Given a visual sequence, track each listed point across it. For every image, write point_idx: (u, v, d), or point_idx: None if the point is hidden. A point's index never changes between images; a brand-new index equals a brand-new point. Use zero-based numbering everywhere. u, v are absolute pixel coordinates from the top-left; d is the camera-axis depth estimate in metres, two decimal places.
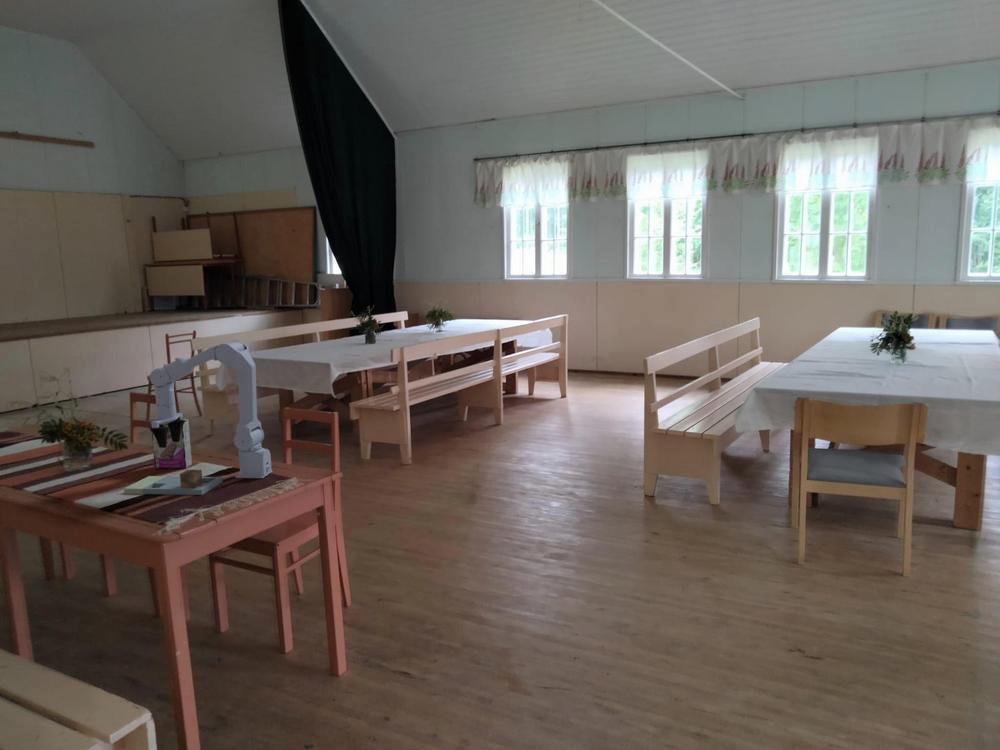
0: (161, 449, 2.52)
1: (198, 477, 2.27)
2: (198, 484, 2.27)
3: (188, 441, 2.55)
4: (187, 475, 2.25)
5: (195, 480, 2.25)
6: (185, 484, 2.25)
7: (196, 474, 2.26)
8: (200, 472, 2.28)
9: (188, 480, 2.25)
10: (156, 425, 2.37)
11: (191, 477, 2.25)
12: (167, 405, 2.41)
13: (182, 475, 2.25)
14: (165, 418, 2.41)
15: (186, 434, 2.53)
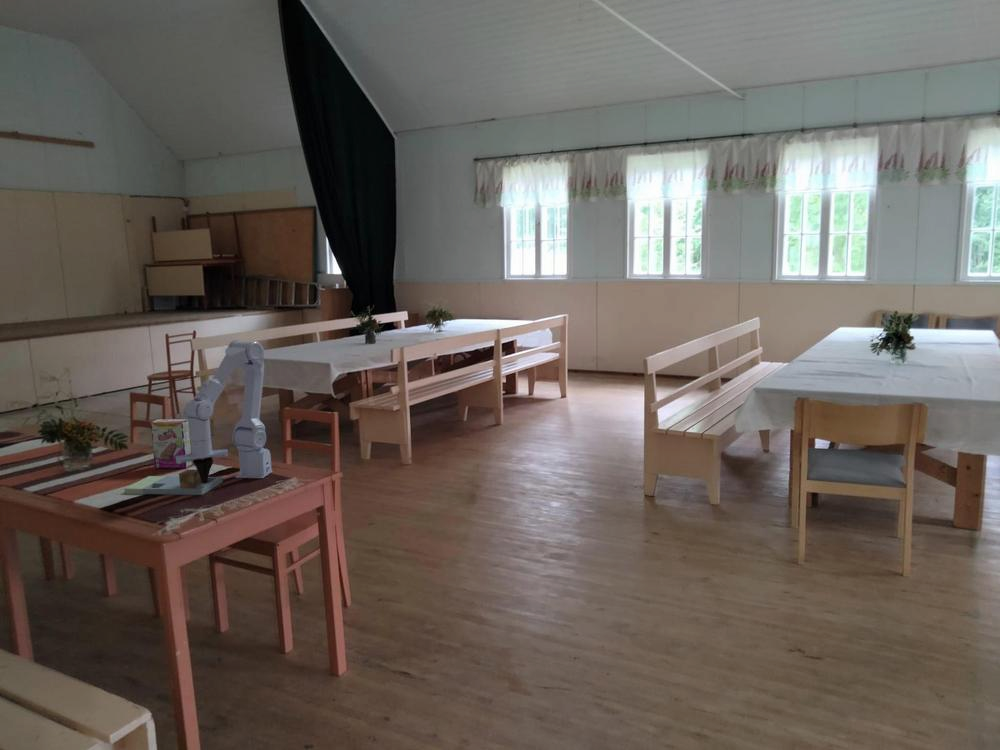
0: (161, 449, 2.52)
1: (197, 477, 2.27)
2: (197, 484, 2.27)
3: (188, 441, 2.55)
4: (186, 475, 2.25)
5: (194, 480, 2.25)
6: (184, 484, 2.25)
7: (195, 474, 2.26)
8: None
9: (187, 480, 2.25)
10: (177, 461, 2.21)
11: (190, 477, 2.25)
12: (194, 441, 2.22)
13: (181, 475, 2.25)
14: (193, 454, 2.23)
15: (186, 434, 2.53)
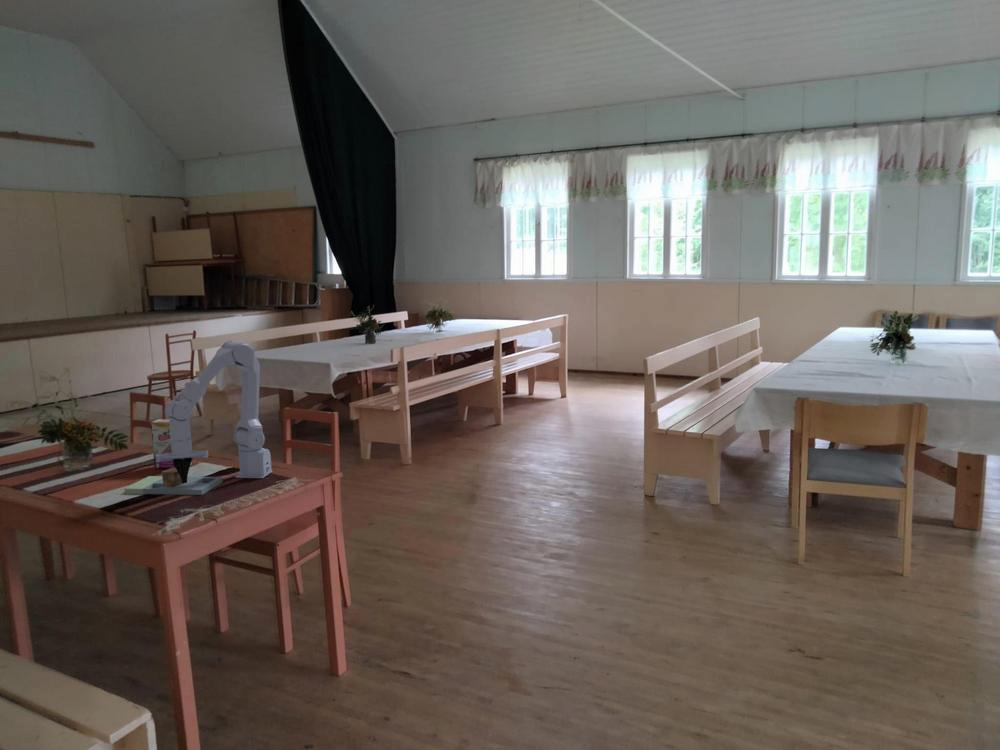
0: (161, 449, 2.52)
1: (179, 476, 2.28)
2: (179, 483, 2.29)
3: None
4: (168, 473, 2.27)
5: (175, 479, 2.27)
6: (166, 482, 2.28)
7: (176, 473, 2.27)
8: None
9: (168, 478, 2.27)
10: (156, 459, 2.24)
11: (171, 476, 2.26)
12: (172, 441, 2.23)
13: (164, 473, 2.27)
14: (172, 454, 2.24)
15: None
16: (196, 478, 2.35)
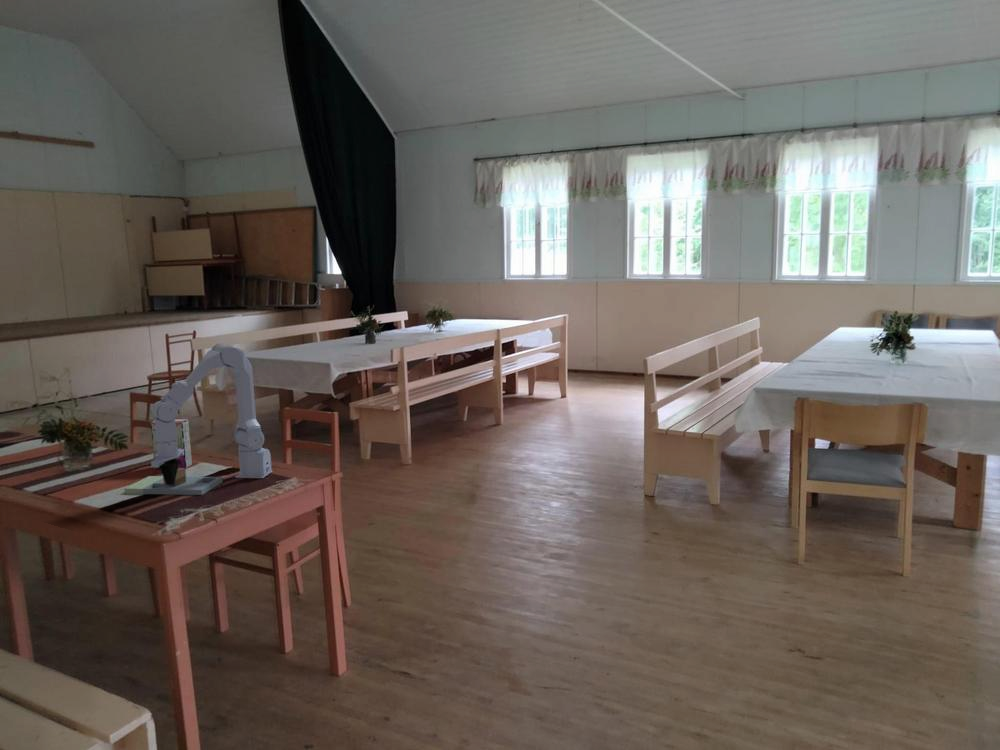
0: None
1: (180, 475, 2.29)
2: (180, 482, 2.29)
3: (188, 441, 2.55)
4: None
5: (176, 478, 2.27)
6: None
7: (177, 472, 2.28)
8: (183, 470, 2.30)
9: None
10: (156, 464, 2.17)
11: None
12: (168, 442, 2.21)
13: None
14: (166, 456, 2.22)
15: (186, 434, 2.53)
16: (196, 478, 2.35)
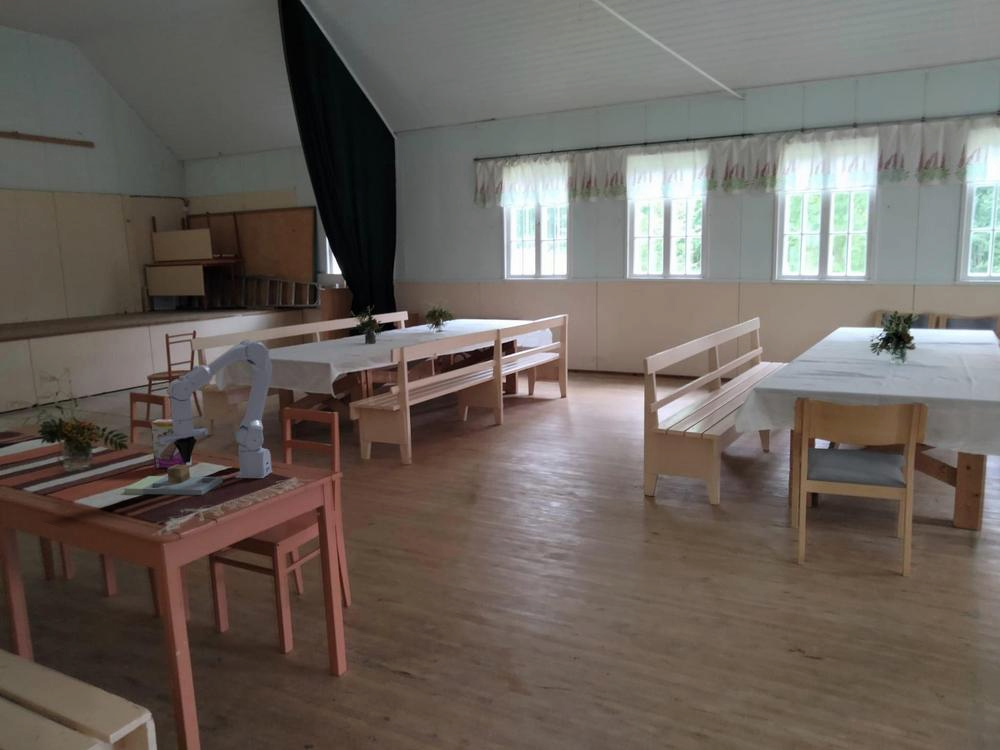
0: (161, 449, 2.52)
1: (185, 472, 2.33)
2: (185, 479, 2.33)
3: None
4: (174, 470, 2.31)
5: (182, 475, 2.31)
6: (172, 478, 2.31)
7: (182, 469, 2.32)
8: (187, 467, 2.34)
9: (175, 475, 2.31)
10: (162, 441, 2.23)
11: (178, 472, 2.31)
12: (178, 421, 2.25)
13: (169, 470, 2.31)
14: (177, 434, 2.26)
15: None
16: (196, 478, 2.35)
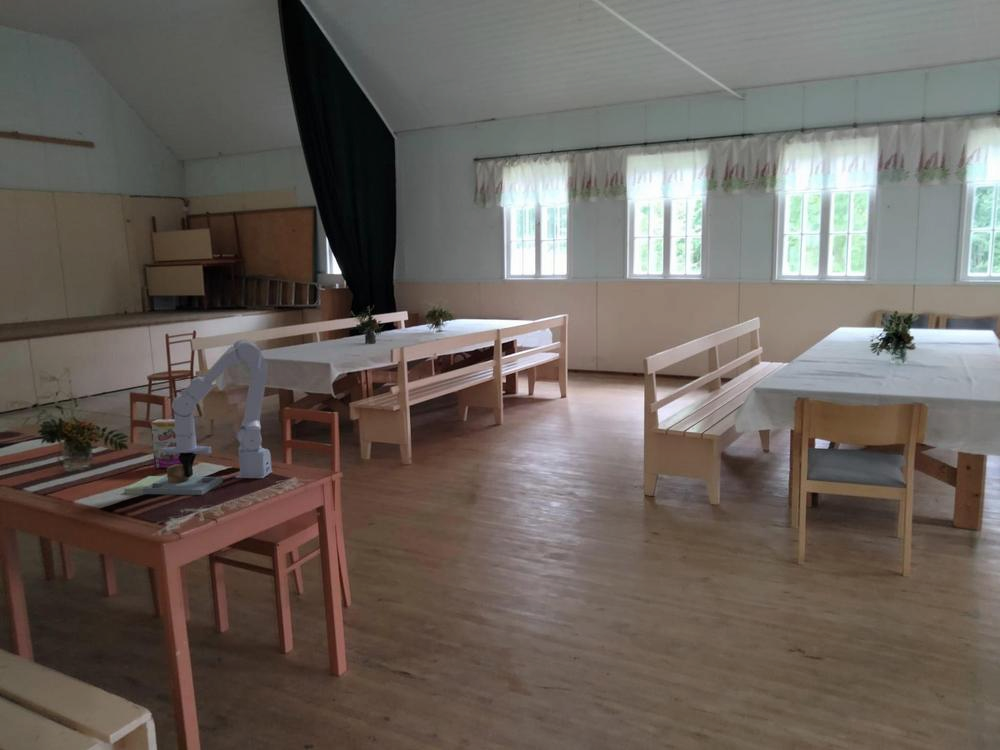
0: (161, 449, 2.52)
1: (184, 471, 2.33)
2: (184, 478, 2.33)
3: None
4: (173, 469, 2.31)
5: (181, 474, 2.31)
6: (172, 478, 2.31)
7: (182, 468, 2.32)
8: None
9: (174, 474, 2.31)
10: None
11: (177, 471, 2.31)
12: (176, 435, 2.30)
13: (169, 469, 2.31)
14: (176, 448, 2.31)
15: None
16: (196, 478, 2.35)
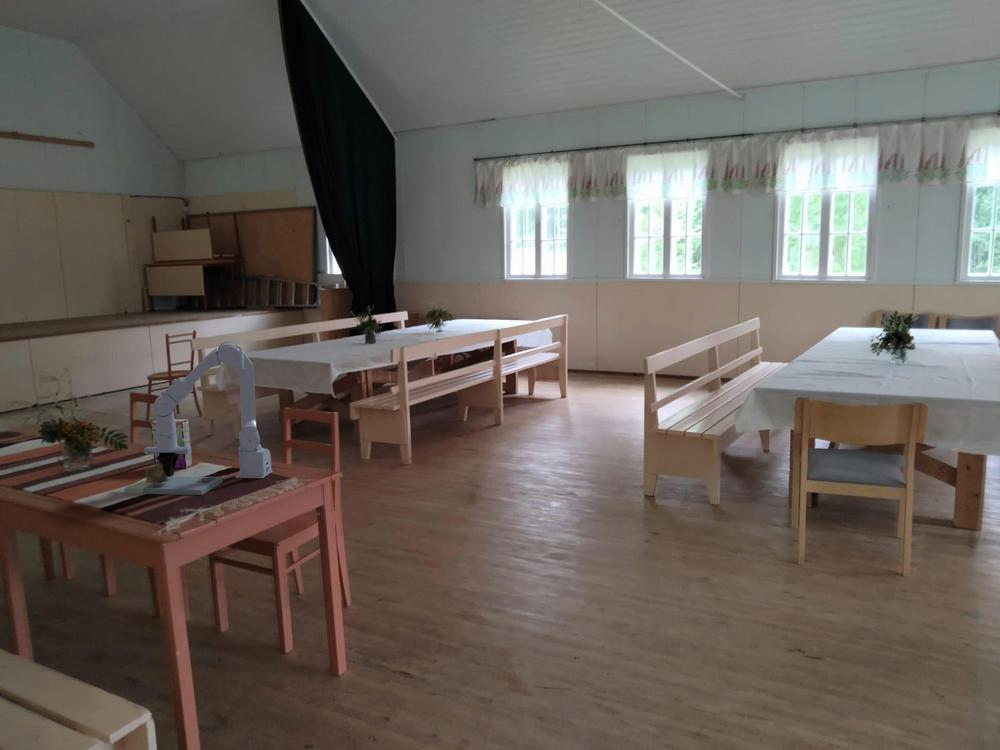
0: None
1: (163, 472, 2.34)
2: (163, 478, 2.34)
3: (188, 441, 2.55)
4: (152, 470, 2.31)
5: (160, 475, 2.32)
6: (151, 478, 2.32)
7: (161, 469, 2.32)
8: None
9: (153, 475, 2.31)
10: None
11: (156, 472, 2.31)
12: None
13: (147, 470, 2.31)
14: None
15: (186, 434, 2.53)
16: (196, 478, 2.35)
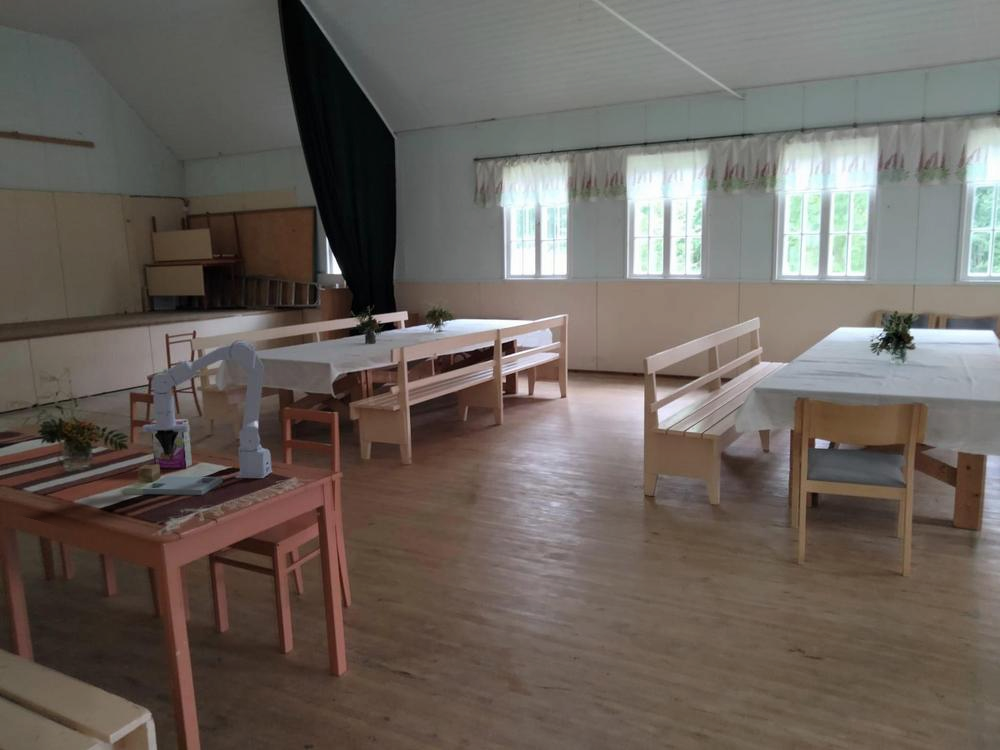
0: (161, 449, 2.52)
1: (156, 472, 2.34)
2: (156, 478, 2.34)
3: (188, 441, 2.55)
4: (145, 470, 2.32)
5: (153, 474, 2.32)
6: (143, 478, 2.32)
7: (153, 469, 2.33)
8: (158, 467, 2.35)
9: (146, 474, 2.32)
10: None
11: (148, 471, 2.32)
12: (155, 412, 2.30)
13: (140, 470, 2.32)
14: None
15: (186, 434, 2.53)
16: (196, 478, 2.35)
